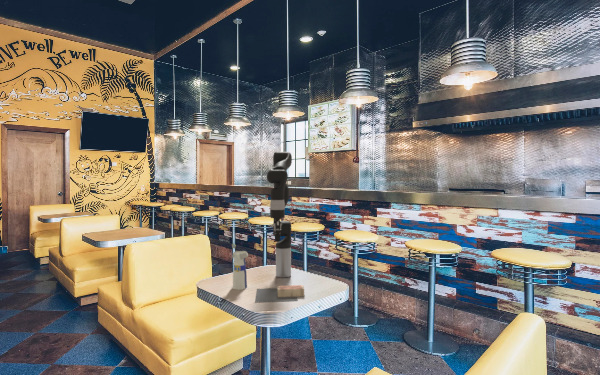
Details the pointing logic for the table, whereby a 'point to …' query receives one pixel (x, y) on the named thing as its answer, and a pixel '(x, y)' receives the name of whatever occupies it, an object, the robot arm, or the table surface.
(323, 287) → the table surface
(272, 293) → the rubber mat
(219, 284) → the table surface
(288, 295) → the tan two-tone tall block
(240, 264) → the water bottle
